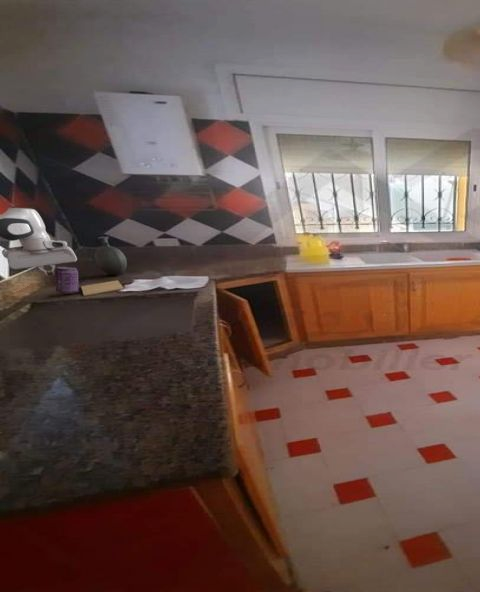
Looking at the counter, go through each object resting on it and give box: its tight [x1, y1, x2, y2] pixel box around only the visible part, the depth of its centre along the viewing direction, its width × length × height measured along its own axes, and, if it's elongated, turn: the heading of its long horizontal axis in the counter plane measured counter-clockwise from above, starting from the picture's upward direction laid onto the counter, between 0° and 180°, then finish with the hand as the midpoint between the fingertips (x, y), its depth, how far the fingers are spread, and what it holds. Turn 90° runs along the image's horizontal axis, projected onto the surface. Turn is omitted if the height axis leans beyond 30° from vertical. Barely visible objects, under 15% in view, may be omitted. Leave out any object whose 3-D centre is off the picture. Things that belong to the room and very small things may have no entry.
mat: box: [80, 279, 124, 297], centre depth 159 cm, size 14×20×1 cm
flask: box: [94, 236, 128, 276], centre depth 178 cm, size 12×17×22 cm
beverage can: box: [54, 266, 79, 295], centre depth 149 cm, size 7×7×12 cm
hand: (50, 274), depth 144 cm, fingers closed
